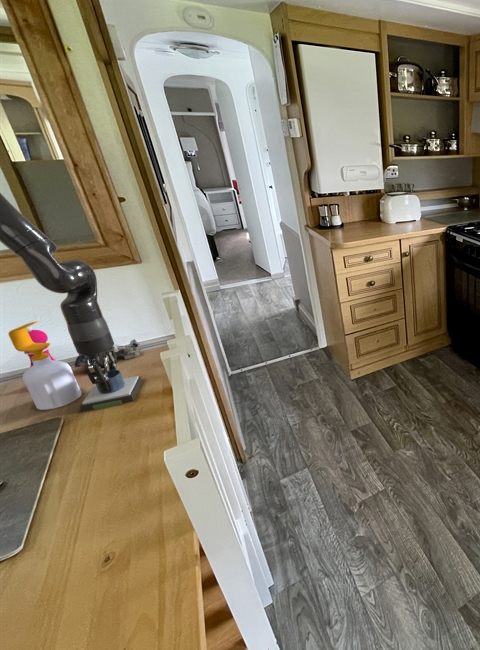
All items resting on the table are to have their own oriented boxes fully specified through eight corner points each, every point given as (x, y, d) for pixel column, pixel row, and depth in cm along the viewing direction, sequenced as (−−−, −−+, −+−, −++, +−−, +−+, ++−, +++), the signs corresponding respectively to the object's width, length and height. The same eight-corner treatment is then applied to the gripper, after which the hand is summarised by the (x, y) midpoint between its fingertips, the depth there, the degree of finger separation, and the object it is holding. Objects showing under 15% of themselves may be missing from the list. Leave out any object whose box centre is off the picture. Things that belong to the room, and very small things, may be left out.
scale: (82, 414, 102) (78, 405, 101) (96, 391, 111) (93, 383, 110) (133, 403, 107) (130, 394, 106) (143, 382, 116) (140, 374, 115)
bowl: (95, 396, 105) (90, 382, 103) (102, 385, 110) (97, 372, 108) (121, 391, 107) (116, 377, 106) (127, 380, 112) (122, 367, 110)
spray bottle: (62, 411, 103) (26, 331, 94) (27, 411, 102) (-14, 331, 93) (90, 391, 111) (59, 316, 102) (57, 392, 111) (23, 316, 102)
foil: (145, 353, 126) (85, 342, 116) (130, 381, 127) (69, 373, 116) (144, 338, 135) (88, 327, 124) (130, 365, 135) (73, 356, 124)
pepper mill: (30, 389, 112) (1, 329, 104) (61, 377, 118) (36, 319, 111) (44, 395, 109) (15, 333, 102) (75, 382, 116) (50, 323, 108)
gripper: (82, 325, 106) (102, 376, 112) (60, 348, 94) (84, 403, 101) (116, 321, 109) (134, 370, 116) (100, 342, 98) (120, 396, 104)
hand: (111, 385), depth 108 cm, fingers closed on bowl, 6 cm apart
